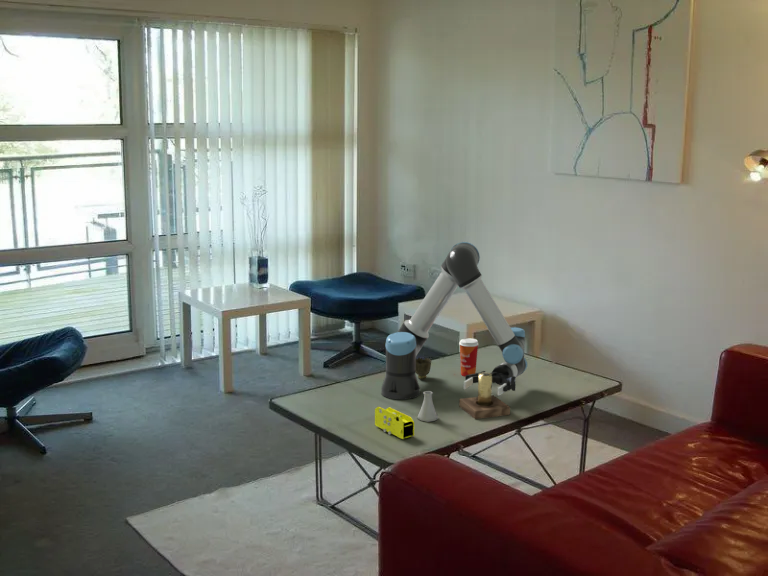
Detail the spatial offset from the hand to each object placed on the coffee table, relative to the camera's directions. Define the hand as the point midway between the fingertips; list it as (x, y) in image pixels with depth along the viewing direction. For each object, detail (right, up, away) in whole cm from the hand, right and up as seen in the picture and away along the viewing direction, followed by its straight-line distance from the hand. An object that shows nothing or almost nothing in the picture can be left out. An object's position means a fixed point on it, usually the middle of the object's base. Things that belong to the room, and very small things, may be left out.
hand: (481, 388), depth 310 cm
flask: (-20, -11, -3) cm, 23 cm away
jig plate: (+2, -9, +5) cm, 10 cm away
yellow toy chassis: (-32, -14, -16) cm, 38 cm away
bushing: (+2, -9, +5) cm, 10 cm away
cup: (-20, -1, +42) cm, 46 cm away
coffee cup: (0, 0, +47) cm, 46 cm away
